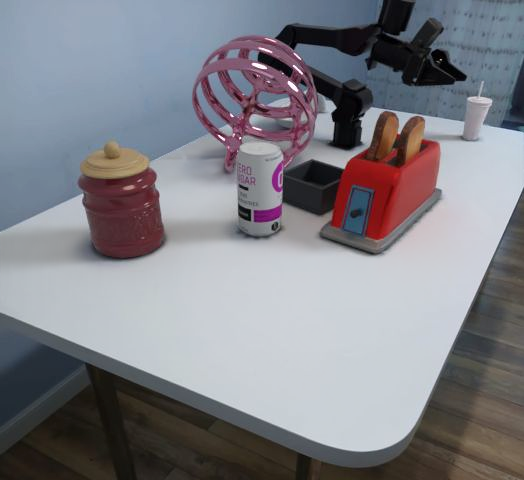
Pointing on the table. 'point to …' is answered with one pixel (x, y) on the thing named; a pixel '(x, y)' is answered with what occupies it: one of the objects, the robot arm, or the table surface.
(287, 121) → the spoon rest
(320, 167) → the bin
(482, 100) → the smoothie
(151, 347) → the table surface
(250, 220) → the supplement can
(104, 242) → the kitchen canister
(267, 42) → the spiral basket
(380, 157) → the toaster
